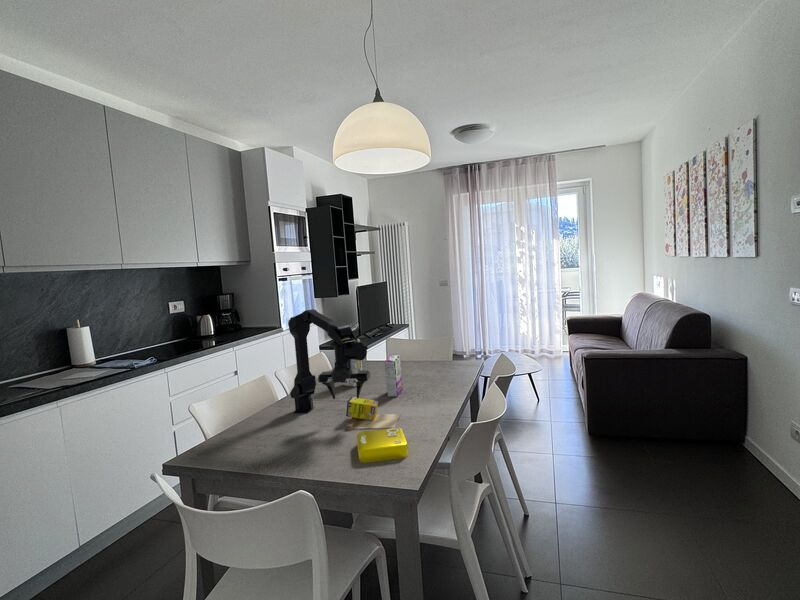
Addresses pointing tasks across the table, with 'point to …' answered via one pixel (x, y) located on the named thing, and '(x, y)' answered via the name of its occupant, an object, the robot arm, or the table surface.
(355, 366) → the juice carton
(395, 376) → the candy bar box
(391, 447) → the yellow flat block
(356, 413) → the supplement box
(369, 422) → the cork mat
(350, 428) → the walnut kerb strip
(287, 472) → the table surface
